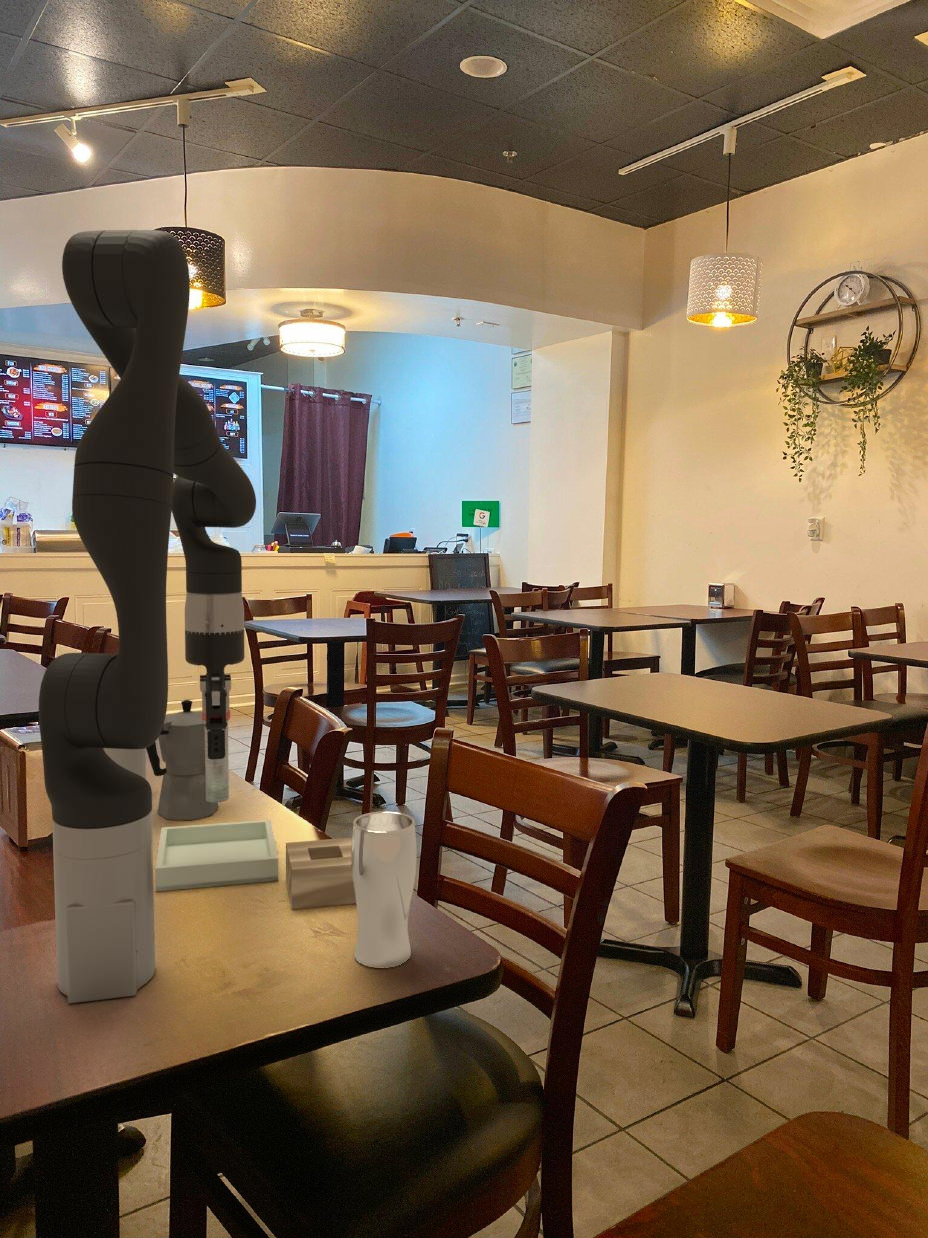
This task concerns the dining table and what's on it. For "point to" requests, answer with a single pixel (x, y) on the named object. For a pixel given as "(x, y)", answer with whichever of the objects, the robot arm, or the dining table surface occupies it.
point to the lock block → (319, 873)
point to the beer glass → (383, 886)
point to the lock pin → (217, 769)
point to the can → (129, 759)
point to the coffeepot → (182, 766)
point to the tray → (216, 855)
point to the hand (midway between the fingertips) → (216, 754)
